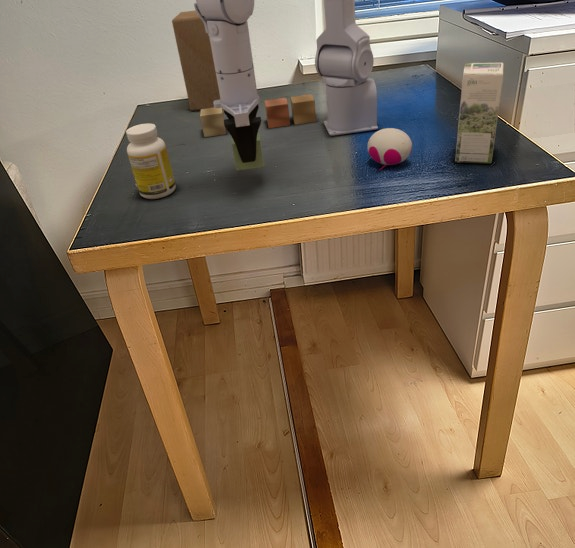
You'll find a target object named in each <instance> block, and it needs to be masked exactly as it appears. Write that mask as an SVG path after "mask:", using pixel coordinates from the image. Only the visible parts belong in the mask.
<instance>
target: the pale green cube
mask: <svg viewBox="0 0 575 548" xmlns="http://www.w3.org/2000/svg"><path fill="white" fill-rule="evenodd" d="M230 136H231V135H230ZM260 137H261V136H260V131H259V130H258V134H257V141H256V160H255V161H253V162H246V163H243V162H242V160H241V158H240V156H239V153H238V150H237V147H236V144H235V142H234V140H233V138H232V136H231V147H232V148H231V149H232V153H233V160H234V165H235V170H236V172H237V171H244V170H251V169H256V168H257V169H258V168H264V167H265V164H264V156H263V151H262V150H263V149H262V144H261V138H260Z"/></svg>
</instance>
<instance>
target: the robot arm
mask: <svg viewBox="0 0 575 548" xmlns="http://www.w3.org/2000/svg"><path fill="white" fill-rule="evenodd" d="M193 6H194V11H195V10H196V13H197V15H198V16H199V18H200V19H201V20H202V21H203V23H204V25H205V30H206V33H208V36H209V38H210V43H211V49H212V54H213V60H214V66H215V71H216V77H217V82H218V88H219V93H220V100H215V101H214V108H222V109H223V114H225V116H226V117H227V118H224V126H225V128H226V132H228V134H229V135H230V136H232V138H233V140H234V142H235V144H236V147H237V150H238V153H239V156H240V158H241V160H242V162H243V163H246V162H253V161H255V160H256V141H257V134H258V131H259V129H260V127H261V124H262V117H261V116H257V114H258V112H259V108H260V107H259V103H260V102H261V101H260V100H261V99H260V95H259V94H258V88H257V81H256V74H255V66H254V59H253V52H252V44H251V38H250V29H249V22H248V20H249V19H250V17H251V16H253V13H254V9H255V0H195V2H194V3H193ZM323 7H324V8H323V9H324V22H325V29H324V30H323V31H322V32H321V34H320V35H319V36H317V38H316V52H315V56H314V67H315V71H316V73H317V75H318V76H319V77H320V78H321V81H322V82H321V83H323V84H325V93H326V94H325V95H326V107H327V119H325V120H324V121H323V125H324V127H325V129H326V131H327V133H328V135H329V136H331V137H333V136H340V135H348V134H354V133H361V132H369V131H376V130H377V131H378V129H379V126H378V92H377V91H378V90H377V85H376V82H375V79H374V78H373V77H372V78H371V77H370V76H371V73H372V71H373V68H374V61H375V59H374V54H373V50H372V48H371V41H370V40H371V39H370V37H371V36H370V35H369V34H368V33H367V32H366V31H365V30H364V29H362V28H361V27H360V26H358V24H357V23H356V0H323ZM232 138H231V139H232Z"/></svg>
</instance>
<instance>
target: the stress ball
mask: <svg viewBox="0 0 575 548" xmlns="http://www.w3.org/2000/svg"><path fill="white" fill-rule="evenodd" d="M367 141H368V142H367V146H366V147H367V152H368V155H369V156H370V158H371V159H372V160H373V161H375V162H376V163H378V164H380V165H383V166H382V167H381V168H380V169H379V171H381V170H382V169H384V168H385V167H386V166H393V165H398V164H401V163H402V162H404V161H405V160H407V159H408V157H410V155H411V153H412V150H413V143H412V139H411V138H410V136H409V135H408V133H406V132H405V131H403V130H401V129H398V128H394V127H386V128H382V129H379V130H377V131H375V132H374V133H373V134H372V135H371V136H370V138H368V140H367Z"/></svg>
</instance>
